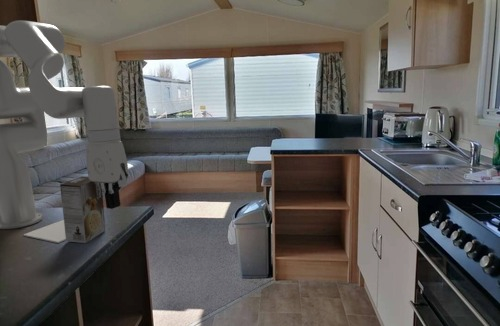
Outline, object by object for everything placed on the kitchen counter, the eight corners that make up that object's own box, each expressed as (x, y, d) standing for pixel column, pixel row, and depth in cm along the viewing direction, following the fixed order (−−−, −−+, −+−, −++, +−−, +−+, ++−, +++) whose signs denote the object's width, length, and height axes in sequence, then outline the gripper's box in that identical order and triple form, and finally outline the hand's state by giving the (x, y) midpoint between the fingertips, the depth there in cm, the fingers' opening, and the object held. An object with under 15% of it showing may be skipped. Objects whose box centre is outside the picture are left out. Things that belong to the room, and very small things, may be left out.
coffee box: (86, 228, 107) (82, 175, 103) (106, 230, 105) (102, 177, 102) (64, 241, 98) (59, 183, 95) (86, 243, 97) (81, 185, 93)
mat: (23, 235, 105) (23, 234, 105) (66, 219, 117) (66, 218, 117) (58, 243, 98) (58, 241, 98) (100, 225, 110) (100, 224, 110)
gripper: (71, 138, 91) (81, 209, 94) (114, 138, 84) (123, 214, 88) (95, 134, 98) (104, 200, 101) (137, 134, 91) (145, 205, 94)
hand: (113, 206), depth 94 cm, fingers closed
